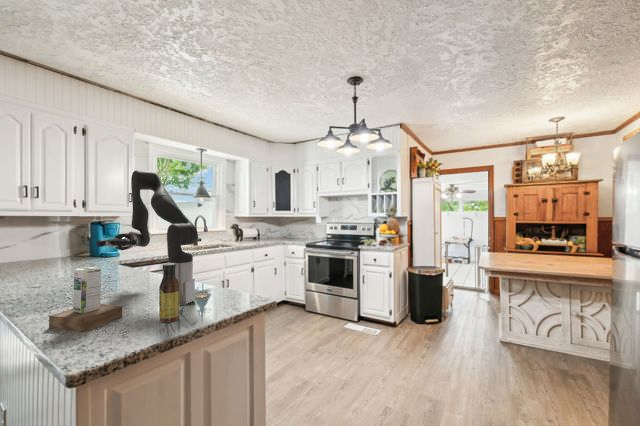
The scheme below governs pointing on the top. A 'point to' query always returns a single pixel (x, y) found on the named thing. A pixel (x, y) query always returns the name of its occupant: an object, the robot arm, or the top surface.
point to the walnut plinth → (85, 318)
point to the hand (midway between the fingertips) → (111, 243)
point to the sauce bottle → (169, 294)
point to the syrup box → (86, 289)
